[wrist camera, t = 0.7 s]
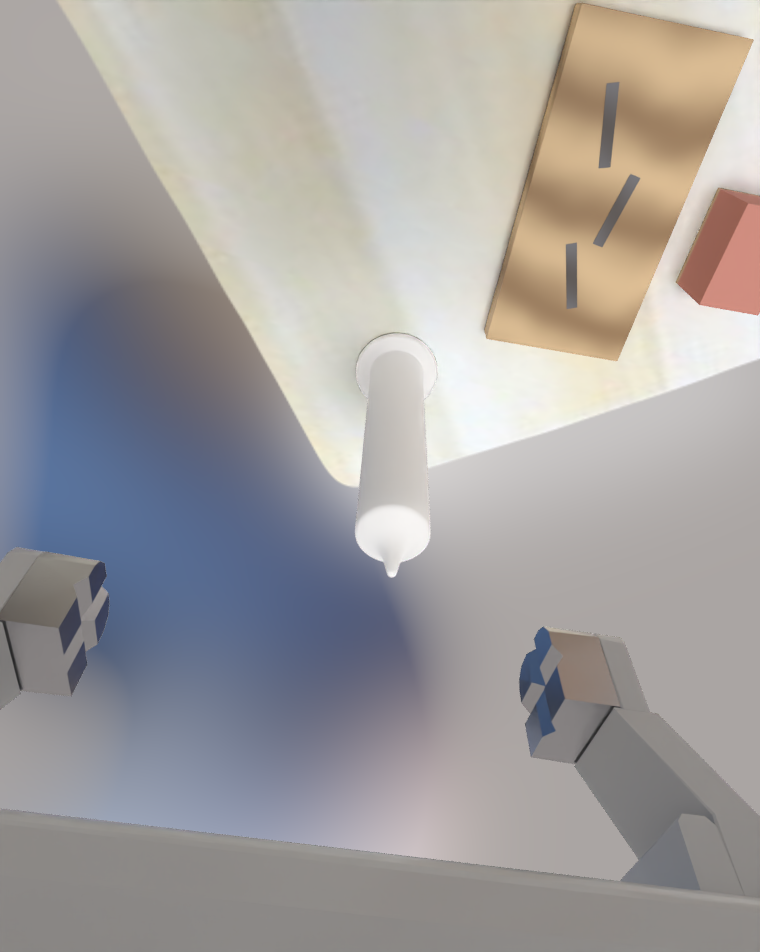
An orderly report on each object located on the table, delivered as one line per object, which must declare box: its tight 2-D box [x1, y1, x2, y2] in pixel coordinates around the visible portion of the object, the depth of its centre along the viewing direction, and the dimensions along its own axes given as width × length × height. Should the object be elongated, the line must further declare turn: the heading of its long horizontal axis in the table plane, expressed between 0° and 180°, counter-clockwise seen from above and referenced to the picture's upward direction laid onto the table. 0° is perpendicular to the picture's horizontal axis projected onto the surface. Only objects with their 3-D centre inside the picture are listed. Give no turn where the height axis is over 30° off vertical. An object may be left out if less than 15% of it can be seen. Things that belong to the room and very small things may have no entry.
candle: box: [355, 333, 438, 577], centre depth 45 cm, size 7×7×25 cm
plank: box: [484, 3, 753, 361], centre depth 46 cm, size 22×11×2 cm, turn 171°
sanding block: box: [676, 188, 760, 315], centre depth 46 cm, size 7×4×5 cm, turn 170°
